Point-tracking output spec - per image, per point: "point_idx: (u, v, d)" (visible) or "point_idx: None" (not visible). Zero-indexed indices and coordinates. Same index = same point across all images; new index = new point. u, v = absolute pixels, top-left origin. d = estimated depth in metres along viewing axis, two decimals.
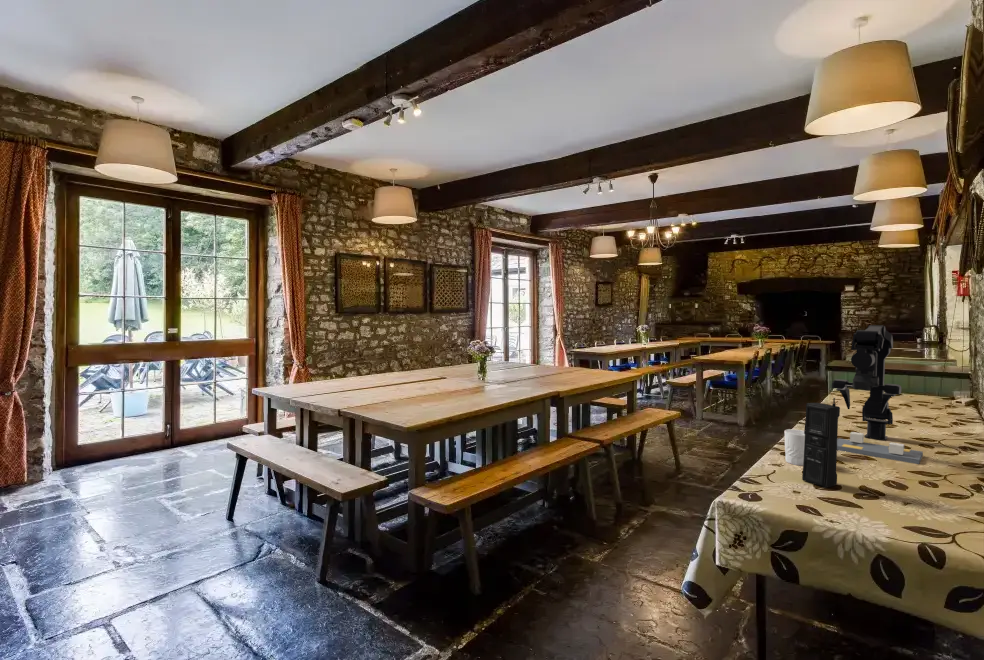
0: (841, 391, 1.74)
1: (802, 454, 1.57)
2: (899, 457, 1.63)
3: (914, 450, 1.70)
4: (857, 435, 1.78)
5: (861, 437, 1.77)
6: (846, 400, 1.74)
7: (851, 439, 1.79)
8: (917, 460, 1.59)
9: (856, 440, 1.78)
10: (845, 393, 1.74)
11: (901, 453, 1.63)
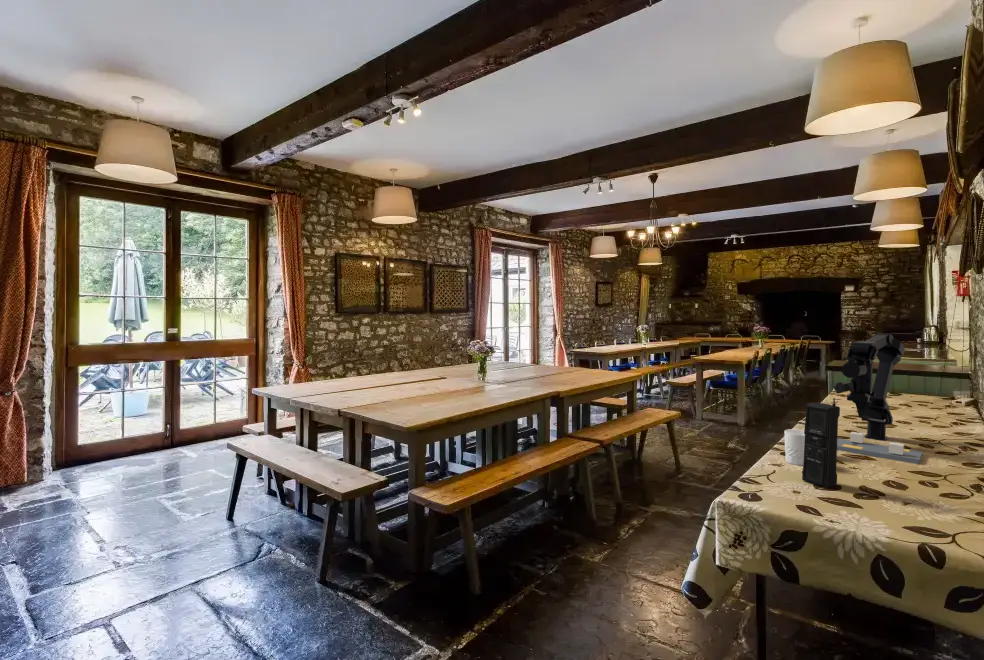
0: None
1: (802, 454, 1.57)
2: (899, 457, 1.63)
3: (914, 450, 1.70)
4: (857, 435, 1.78)
5: (861, 437, 1.77)
6: None
7: (851, 439, 1.79)
8: (917, 460, 1.59)
9: (856, 440, 1.78)
10: None
11: (901, 453, 1.63)
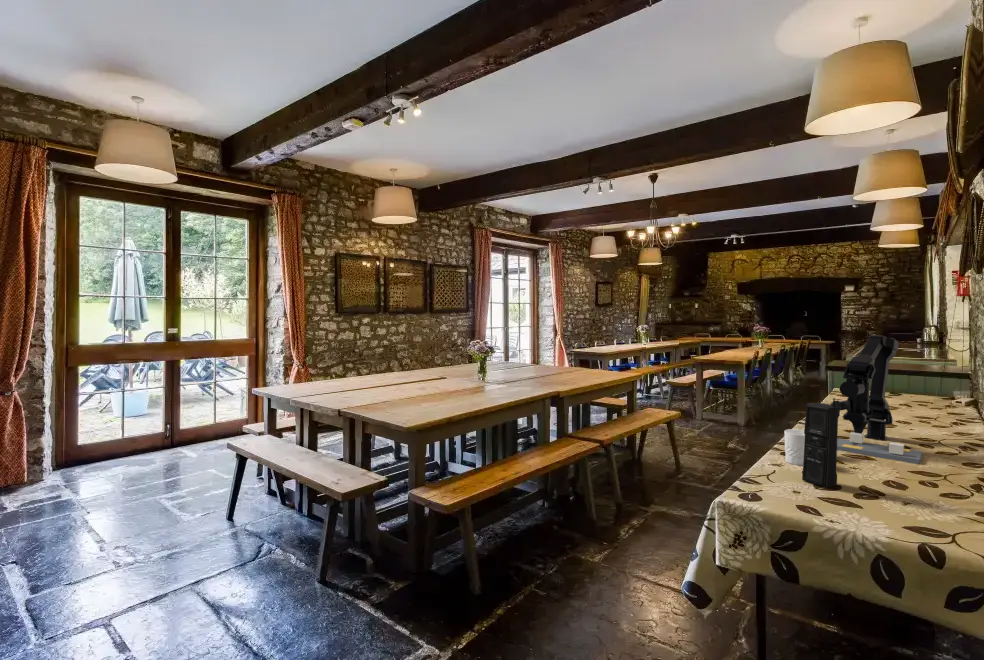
0: None
1: (802, 454, 1.57)
2: (899, 457, 1.63)
3: (914, 450, 1.70)
4: (857, 435, 1.77)
5: (861, 437, 1.77)
6: None
7: (851, 439, 1.79)
8: (917, 460, 1.59)
9: (856, 440, 1.78)
10: None
11: (901, 453, 1.63)
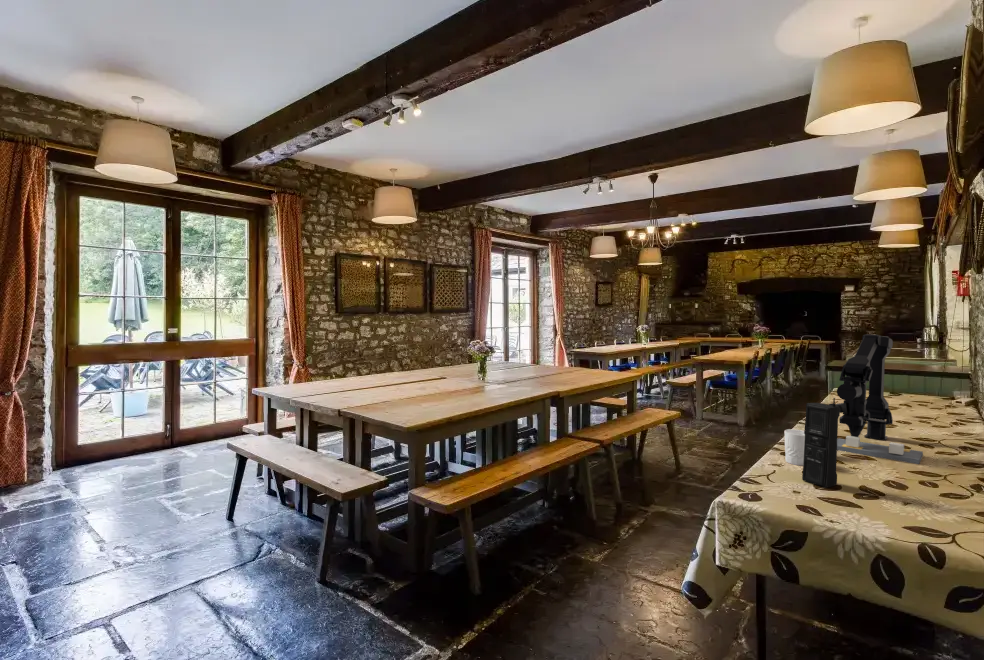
0: None
1: (802, 454, 1.57)
2: (899, 457, 1.63)
3: (914, 450, 1.70)
4: (853, 439, 1.72)
5: (857, 441, 1.72)
6: None
7: (847, 443, 1.74)
8: (917, 460, 1.59)
9: (852, 444, 1.73)
10: None
11: (901, 453, 1.63)
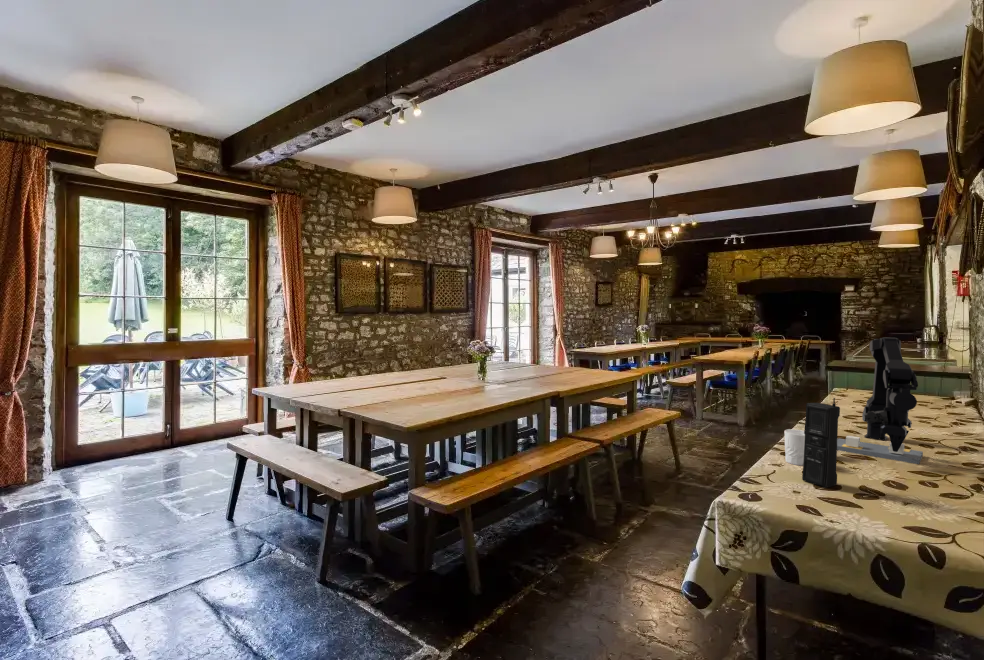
0: None
1: (802, 454, 1.57)
2: (899, 457, 1.63)
3: (914, 450, 1.70)
4: (853, 439, 1.72)
5: (857, 441, 1.72)
6: None
7: (847, 443, 1.74)
8: (917, 460, 1.59)
9: (852, 444, 1.73)
10: None
11: (901, 453, 1.63)
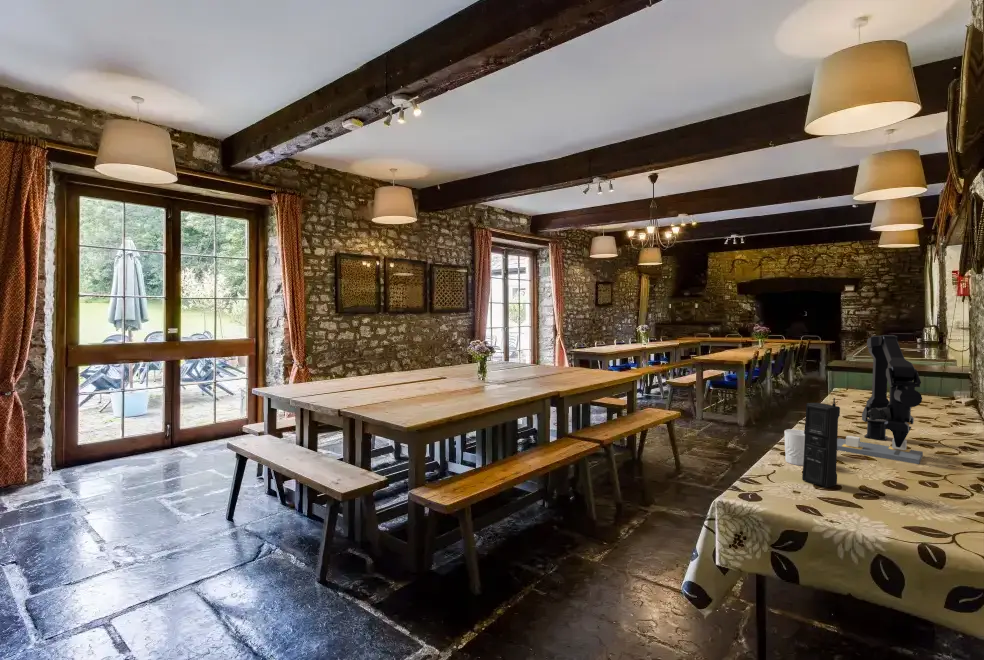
0: None
1: (802, 454, 1.57)
2: (899, 457, 1.63)
3: (914, 450, 1.70)
4: (853, 439, 1.72)
5: (857, 441, 1.72)
6: None
7: (847, 443, 1.74)
8: (917, 460, 1.59)
9: (852, 444, 1.73)
10: None
11: (904, 448, 1.68)
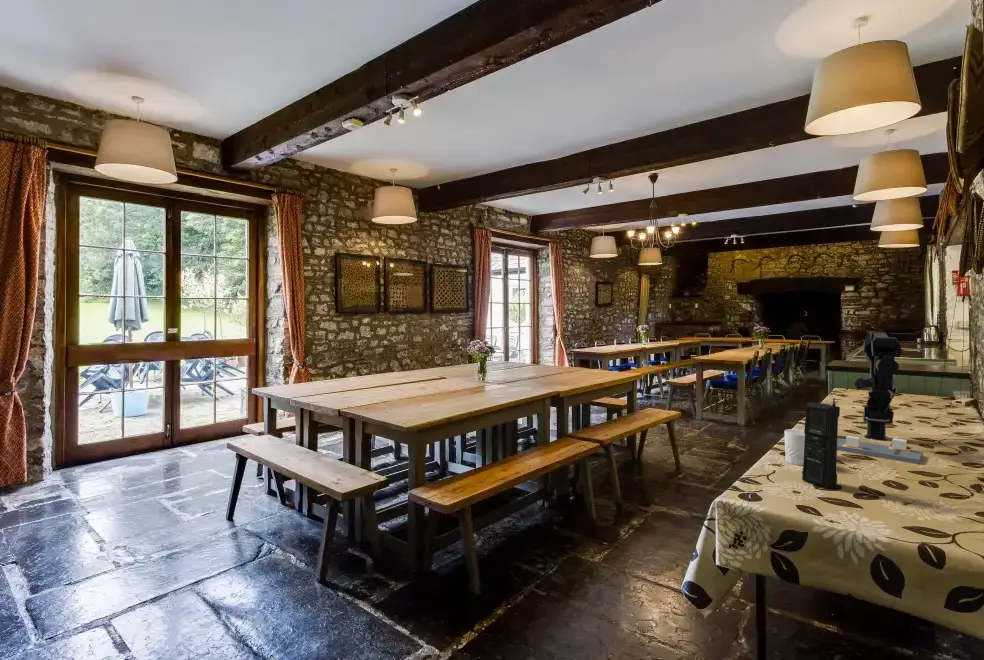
0: None
1: (802, 454, 1.57)
2: (899, 457, 1.63)
3: (914, 450, 1.70)
4: (853, 439, 1.72)
5: (857, 441, 1.72)
6: None
7: (847, 443, 1.74)
8: (917, 460, 1.59)
9: (852, 444, 1.73)
10: None
11: (904, 448, 1.68)
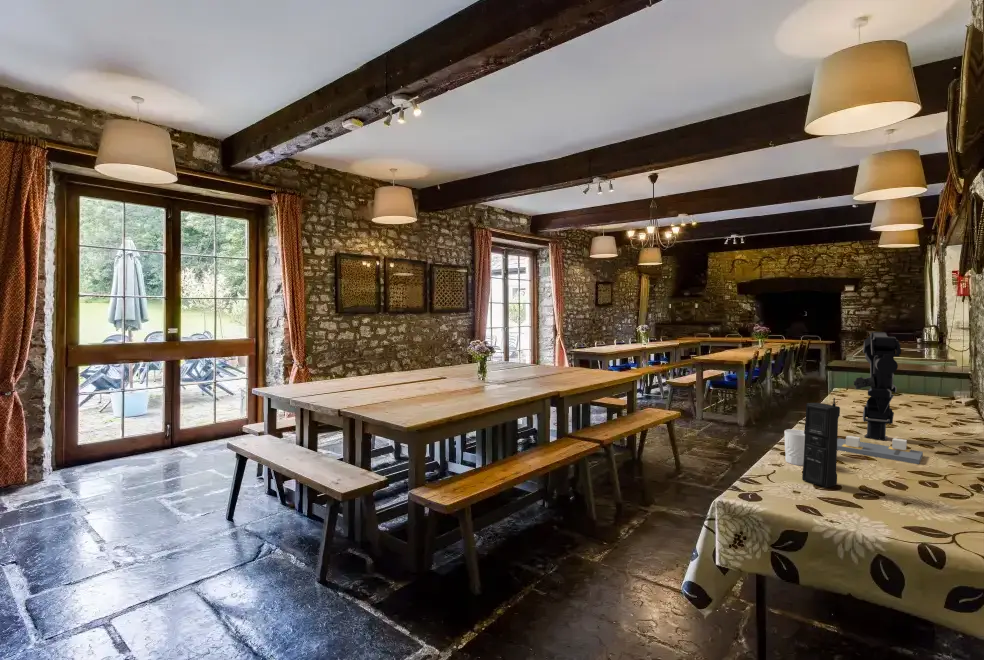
0: None
1: (802, 454, 1.57)
2: (899, 457, 1.63)
3: (914, 450, 1.70)
4: (853, 439, 1.72)
5: (857, 441, 1.72)
6: None
7: (847, 443, 1.74)
8: (917, 460, 1.59)
9: (852, 444, 1.73)
10: None
11: (904, 448, 1.68)
